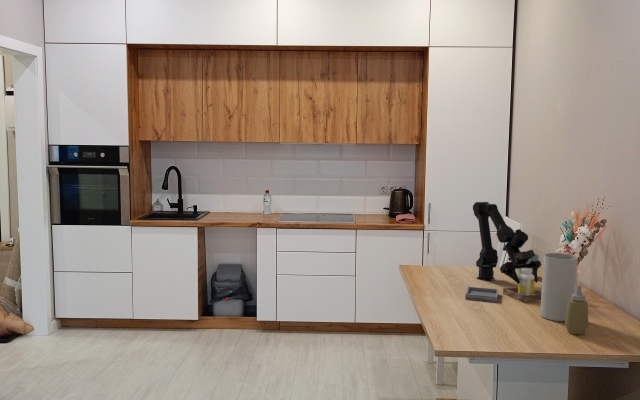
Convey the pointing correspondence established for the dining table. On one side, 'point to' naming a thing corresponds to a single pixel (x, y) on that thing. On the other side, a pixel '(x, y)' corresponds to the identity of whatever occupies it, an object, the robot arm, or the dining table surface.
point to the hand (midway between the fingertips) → (528, 282)
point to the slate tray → (481, 294)
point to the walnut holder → (513, 293)
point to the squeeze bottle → (577, 313)
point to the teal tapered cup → (529, 262)
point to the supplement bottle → (526, 282)
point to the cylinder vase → (557, 285)
